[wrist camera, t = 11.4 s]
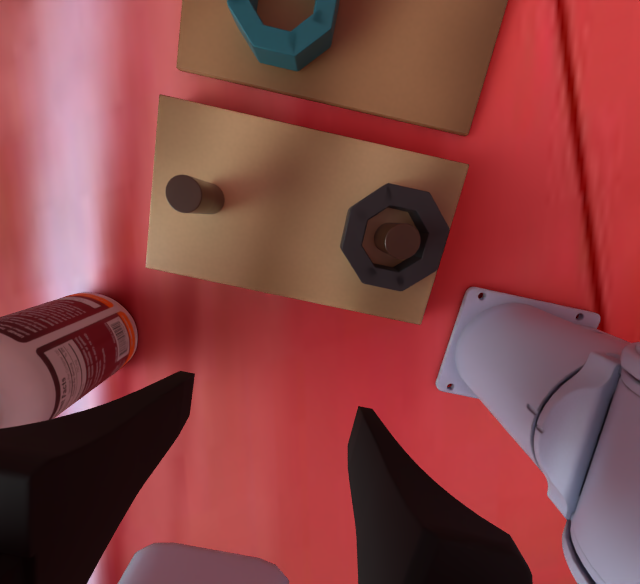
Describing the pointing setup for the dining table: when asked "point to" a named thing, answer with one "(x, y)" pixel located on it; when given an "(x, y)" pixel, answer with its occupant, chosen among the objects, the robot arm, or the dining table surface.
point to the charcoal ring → (424, 219)
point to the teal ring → (286, 34)
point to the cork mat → (361, 55)
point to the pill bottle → (60, 354)
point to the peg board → (284, 207)
